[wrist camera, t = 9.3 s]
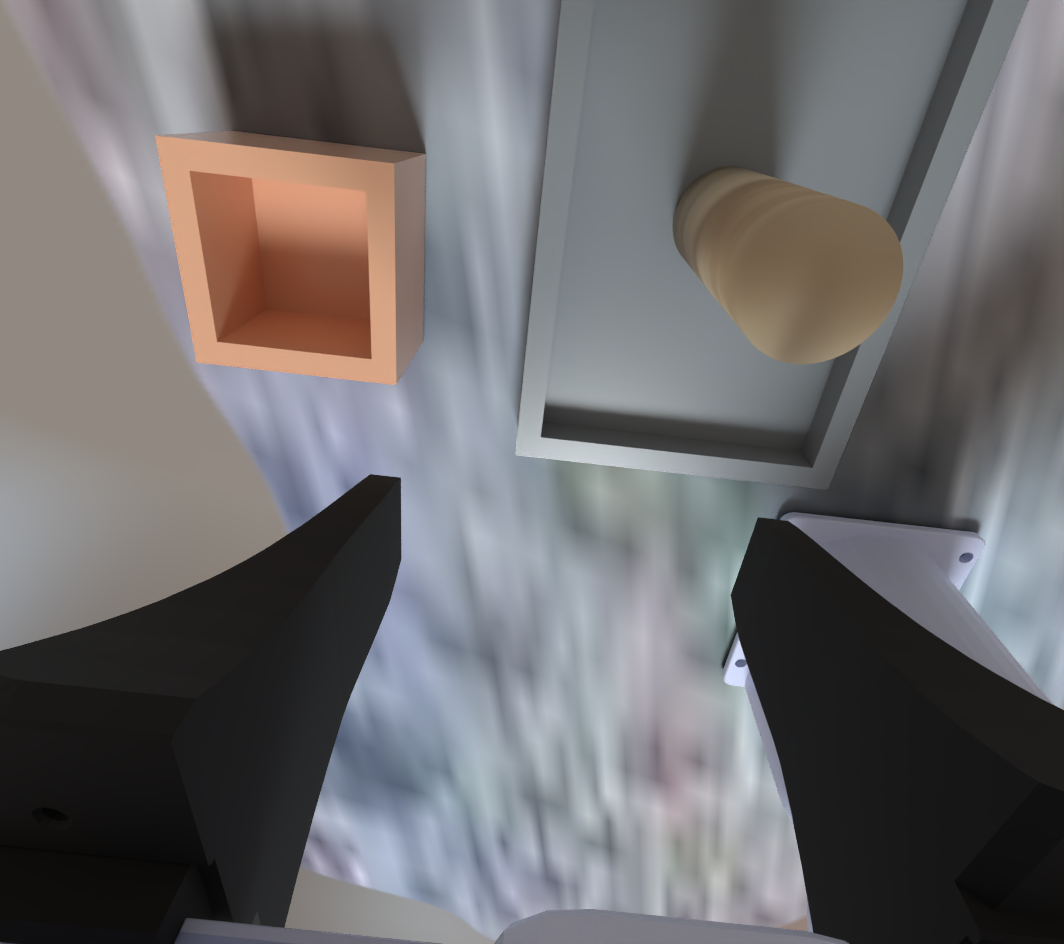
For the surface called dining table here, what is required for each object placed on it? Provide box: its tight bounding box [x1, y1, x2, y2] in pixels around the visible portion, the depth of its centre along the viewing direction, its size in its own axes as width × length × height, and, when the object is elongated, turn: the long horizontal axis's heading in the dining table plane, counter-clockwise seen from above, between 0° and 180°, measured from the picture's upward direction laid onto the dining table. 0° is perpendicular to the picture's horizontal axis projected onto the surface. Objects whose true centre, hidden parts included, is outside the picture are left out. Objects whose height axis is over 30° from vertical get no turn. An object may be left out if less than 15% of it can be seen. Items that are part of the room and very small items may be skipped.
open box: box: [155, 131, 426, 385], centre depth 18 cm, size 6×6×4 cm
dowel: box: [673, 166, 903, 364], centre depth 15 cm, size 3×3×8 cm
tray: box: [515, 0, 1029, 490], centre depth 18 cm, size 16×11×2 cm
